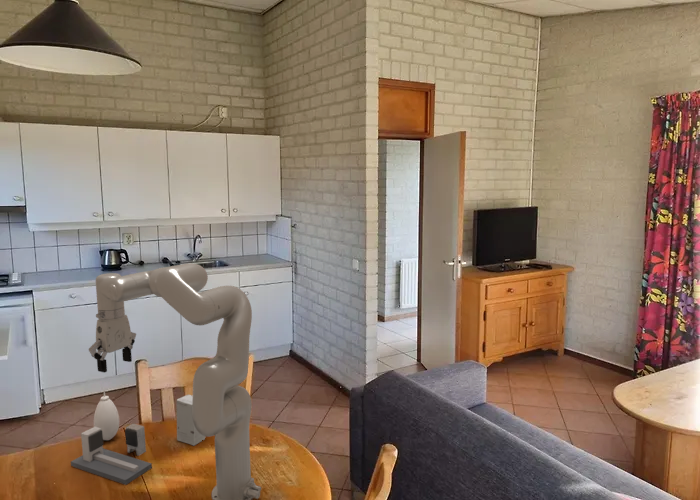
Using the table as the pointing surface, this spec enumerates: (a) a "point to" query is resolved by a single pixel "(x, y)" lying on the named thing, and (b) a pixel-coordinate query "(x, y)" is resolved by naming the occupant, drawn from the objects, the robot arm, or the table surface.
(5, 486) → the table surface
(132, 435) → the left finger
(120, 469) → the rail base
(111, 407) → the sauce bottle
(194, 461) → the table surface
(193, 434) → the skincare box
